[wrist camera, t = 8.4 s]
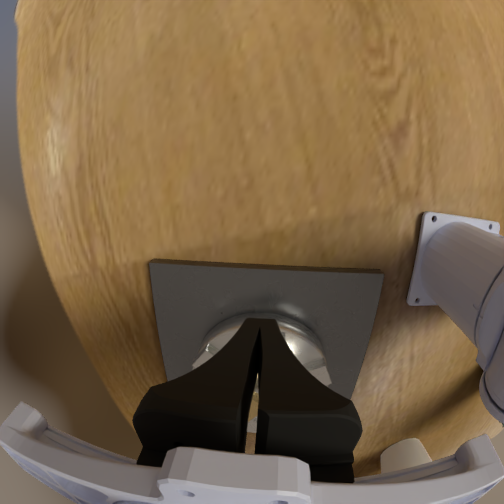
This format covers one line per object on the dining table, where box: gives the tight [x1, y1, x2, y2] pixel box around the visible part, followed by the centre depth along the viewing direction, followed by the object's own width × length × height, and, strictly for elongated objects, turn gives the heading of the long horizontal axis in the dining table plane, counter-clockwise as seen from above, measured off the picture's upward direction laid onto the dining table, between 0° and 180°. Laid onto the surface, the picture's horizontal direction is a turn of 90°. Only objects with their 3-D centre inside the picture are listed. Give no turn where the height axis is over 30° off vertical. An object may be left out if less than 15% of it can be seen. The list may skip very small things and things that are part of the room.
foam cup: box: [380, 438, 432, 474], centre depth 22 cm, size 10×9×13 cm
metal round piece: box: [192, 313, 332, 433], centre depth 20 cm, size 15×11×7 cm
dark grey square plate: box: [149, 259, 384, 400], centre depth 23 cm, size 18×18×1 cm
